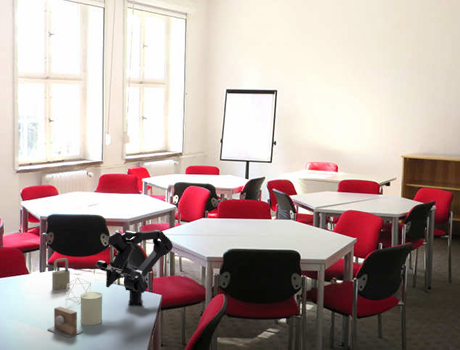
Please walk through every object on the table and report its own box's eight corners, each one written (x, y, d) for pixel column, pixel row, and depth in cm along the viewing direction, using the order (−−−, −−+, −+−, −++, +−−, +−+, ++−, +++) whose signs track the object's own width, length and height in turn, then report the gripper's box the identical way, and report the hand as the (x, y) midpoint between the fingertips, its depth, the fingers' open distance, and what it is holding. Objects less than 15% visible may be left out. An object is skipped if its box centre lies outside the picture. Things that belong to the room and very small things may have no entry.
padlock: (51, 288, 292) (51, 259, 290) (66, 285, 297) (66, 256, 295) (55, 290, 289) (55, 260, 287) (70, 287, 294) (70, 258, 292)
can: (79, 318, 253) (79, 291, 252) (100, 316, 257) (100, 289, 255) (81, 326, 245) (81, 298, 243) (103, 323, 248) (103, 296, 247)
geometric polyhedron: (91, 303, 272) (91, 284, 271) (67, 305, 269) (67, 285, 268) (89, 295, 284) (89, 276, 283) (66, 296, 281) (66, 278, 280)
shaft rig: (62, 324, 246) (62, 303, 245) (83, 331, 239) (84, 310, 238) (47, 330, 239) (47, 309, 238) (69, 338, 232) (69, 316, 231)
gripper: (146, 268, 266) (131, 299, 259) (113, 258, 273) (98, 289, 267) (137, 257, 257) (121, 289, 250) (103, 248, 265) (87, 279, 258)
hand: (107, 287), depth 256 cm, fingers closed
